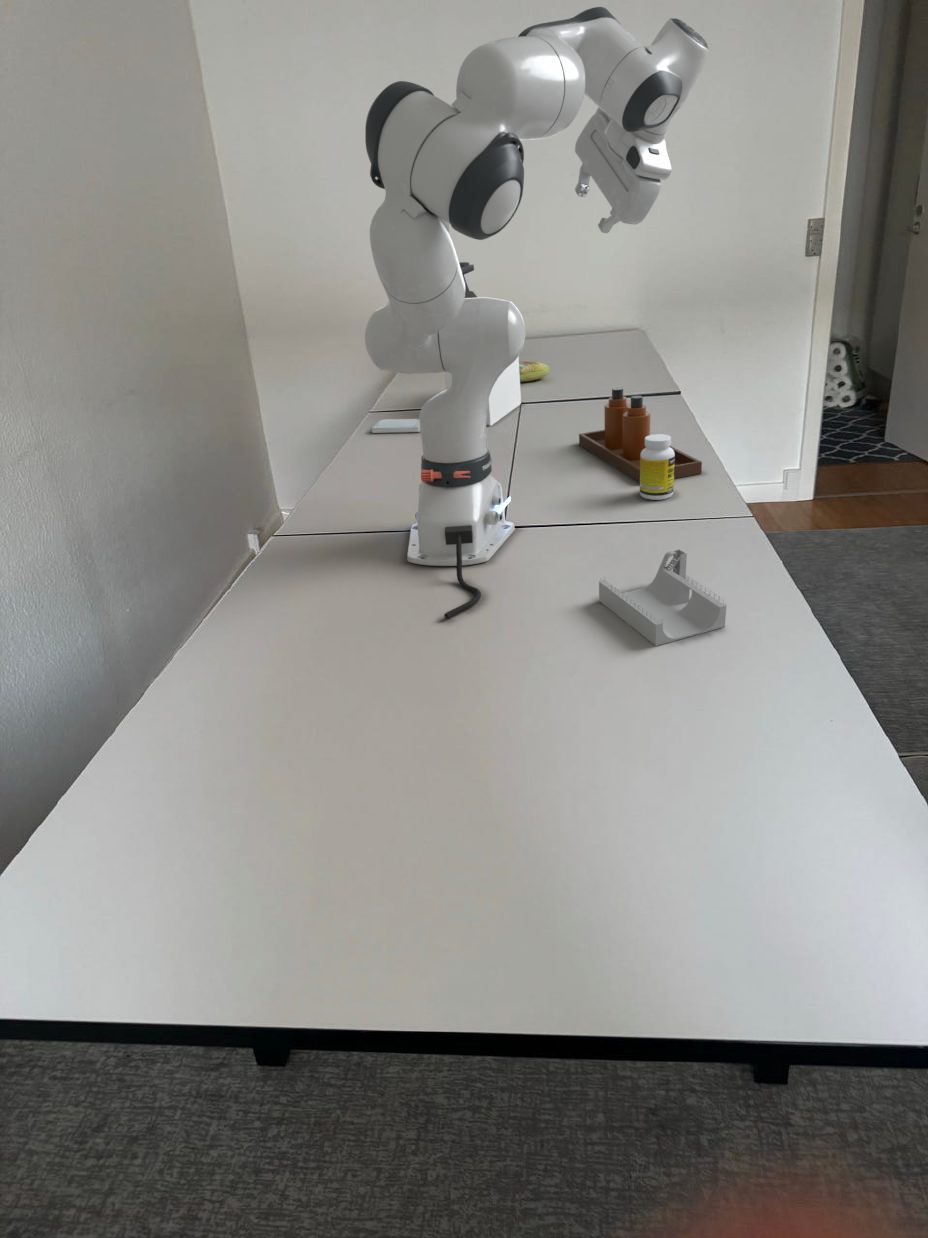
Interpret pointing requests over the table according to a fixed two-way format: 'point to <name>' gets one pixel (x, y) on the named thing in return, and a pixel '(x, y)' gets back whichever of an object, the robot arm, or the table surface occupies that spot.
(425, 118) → the robot arm
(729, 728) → the table surface
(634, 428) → the amber bottle middle
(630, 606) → the grey plastic cradle
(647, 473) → the pill bottle
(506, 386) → the box
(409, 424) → the hard drive
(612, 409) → the amber bottle far
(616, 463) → the tray
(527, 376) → the cell model
